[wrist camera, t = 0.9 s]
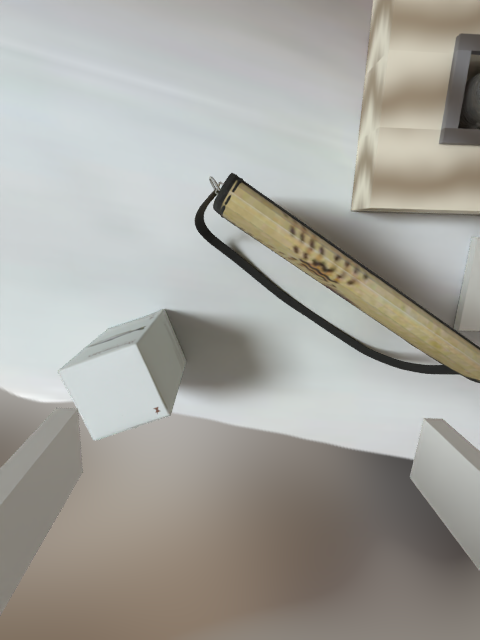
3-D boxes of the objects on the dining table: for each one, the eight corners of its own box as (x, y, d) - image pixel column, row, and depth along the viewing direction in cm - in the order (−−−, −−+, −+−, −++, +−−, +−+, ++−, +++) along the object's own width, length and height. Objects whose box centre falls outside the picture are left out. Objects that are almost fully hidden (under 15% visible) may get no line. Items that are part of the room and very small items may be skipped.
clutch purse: (187, 240, 37) (164, 247, 23) (220, 184, 36) (218, 153, 21) (388, 370, 43) (474, 442, 28) (424, 326, 41) (533, 377, 27)
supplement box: (165, 306, 39) (138, 341, 27) (187, 362, 41) (172, 418, 29) (106, 326, 39) (53, 370, 27) (131, 381, 41) (93, 444, 29)
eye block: (374, -9, 32) (404, -58, 26) (572, 3, 33) (640, -41, 28) (350, 210, 37) (372, 207, 32) (522, 215, 38) (571, 213, 33)
